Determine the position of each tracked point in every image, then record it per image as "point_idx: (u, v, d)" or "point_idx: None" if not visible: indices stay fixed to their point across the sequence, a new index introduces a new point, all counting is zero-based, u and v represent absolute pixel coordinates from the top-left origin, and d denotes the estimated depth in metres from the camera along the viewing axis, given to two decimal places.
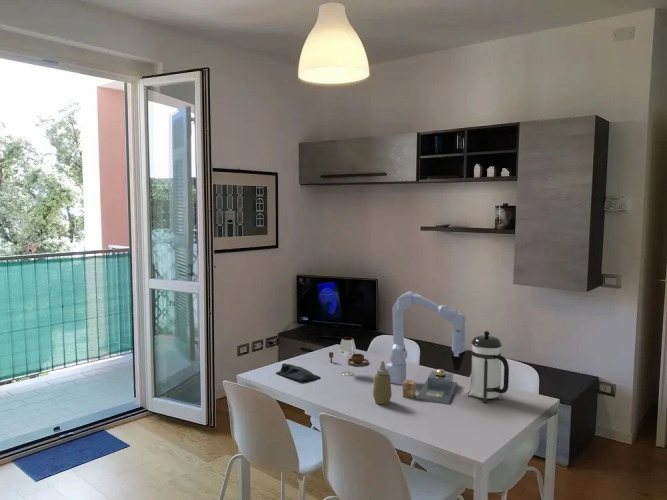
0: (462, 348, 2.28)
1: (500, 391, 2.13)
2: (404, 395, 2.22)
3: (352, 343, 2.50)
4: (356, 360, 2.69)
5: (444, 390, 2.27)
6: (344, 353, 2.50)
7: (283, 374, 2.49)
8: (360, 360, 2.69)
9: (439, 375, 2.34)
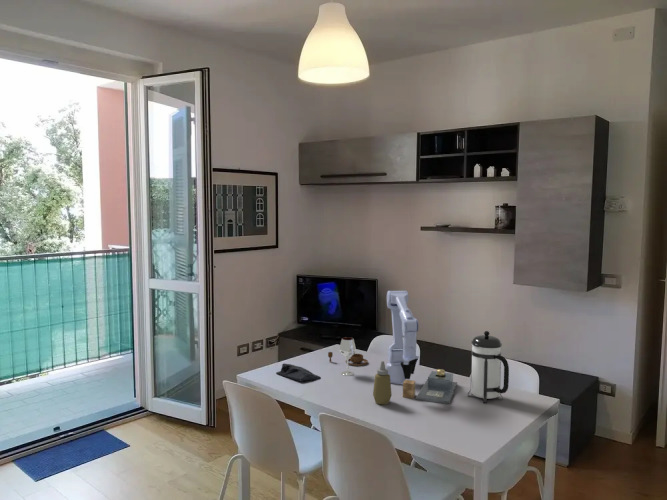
0: (413, 356, 2.19)
1: (500, 391, 2.13)
2: (404, 395, 2.22)
3: (352, 343, 2.50)
4: (355, 360, 2.69)
5: (444, 390, 2.27)
6: (344, 353, 2.50)
7: (283, 374, 2.49)
8: (359, 360, 2.69)
9: (439, 375, 2.34)
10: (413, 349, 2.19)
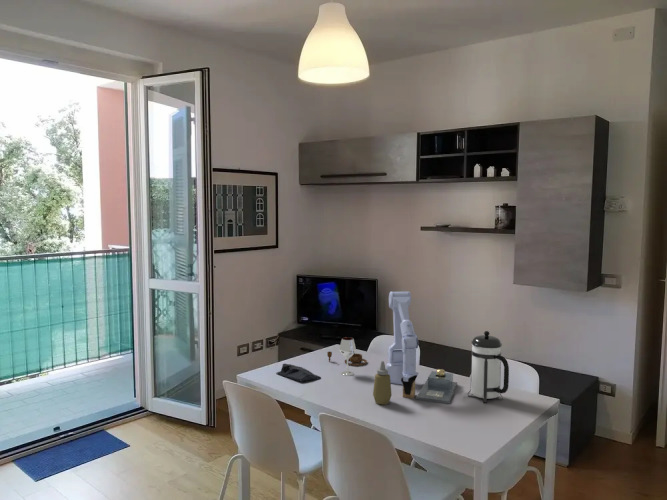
0: (413, 372, 2.20)
1: (500, 391, 2.13)
2: (404, 395, 2.21)
3: (352, 343, 2.50)
4: (354, 360, 2.69)
5: (444, 390, 2.27)
6: (344, 353, 2.50)
7: (283, 374, 2.49)
8: (358, 360, 2.69)
9: (439, 375, 2.34)
10: (413, 366, 2.20)
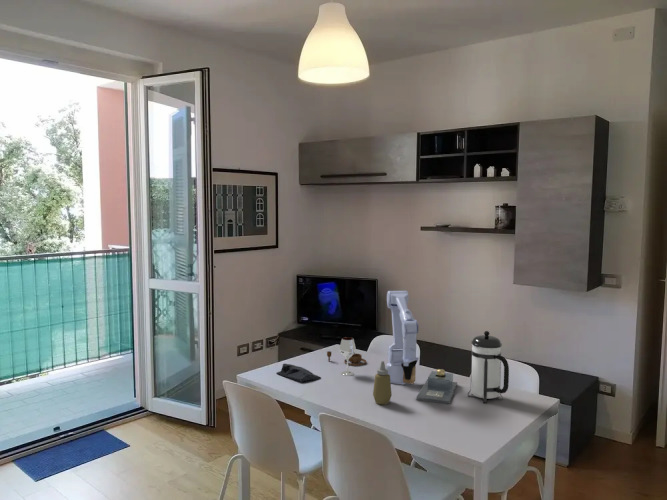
0: (413, 357, 2.19)
1: (500, 391, 2.13)
2: (404, 380, 2.21)
3: (352, 343, 2.50)
4: (353, 360, 2.69)
5: (444, 390, 2.27)
6: (344, 353, 2.50)
7: (284, 374, 2.49)
8: (357, 360, 2.69)
9: (439, 375, 2.34)
10: (413, 350, 2.19)
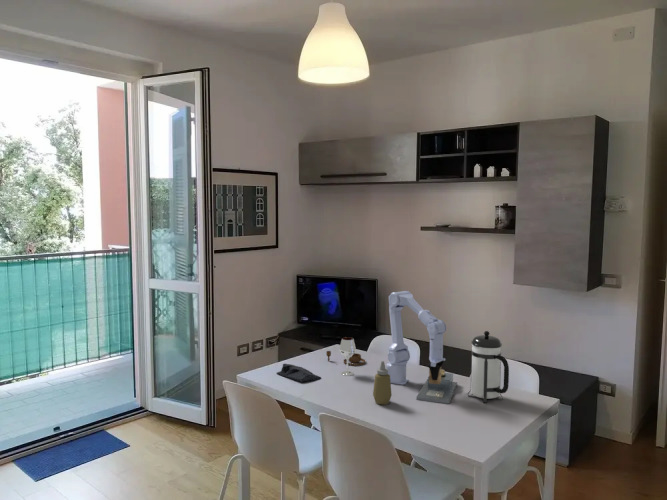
0: (440, 358, 2.19)
1: (500, 391, 2.13)
2: (430, 381, 2.21)
3: (352, 343, 2.50)
4: (352, 360, 2.69)
5: (444, 390, 2.27)
6: (344, 353, 2.50)
7: (284, 374, 2.48)
8: (356, 360, 2.69)
9: None
10: (440, 351, 2.19)
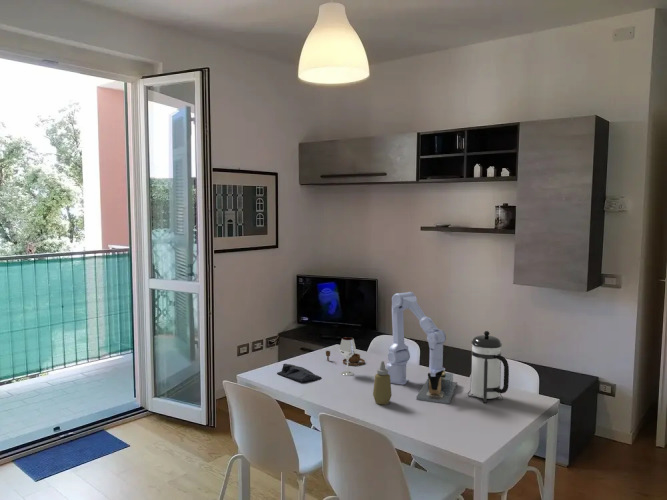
0: (439, 367, 2.19)
1: (500, 391, 2.13)
2: (430, 391, 2.21)
3: (352, 343, 2.50)
4: (351, 360, 2.69)
5: (444, 390, 2.27)
6: (344, 353, 2.50)
7: (284, 374, 2.48)
8: (355, 360, 2.69)
9: None
10: (440, 361, 2.19)
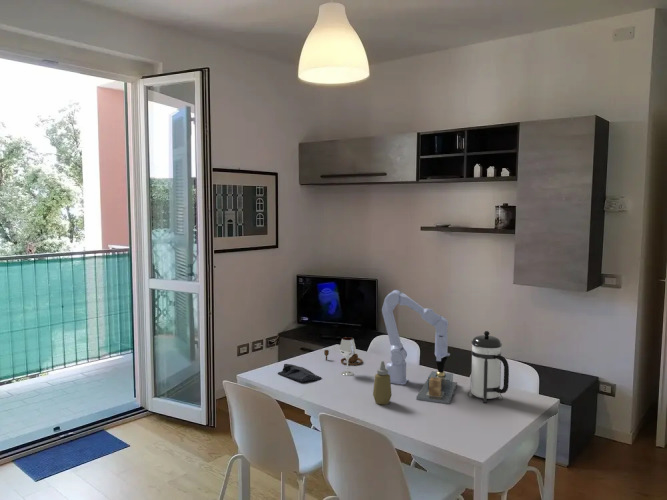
0: (445, 353, 2.32)
1: (500, 391, 2.13)
2: (430, 392, 2.21)
3: (352, 343, 2.50)
4: None
5: (444, 390, 2.27)
6: (344, 353, 2.50)
7: (284, 374, 2.48)
8: (352, 360, 2.70)
9: None
10: (445, 346, 2.32)
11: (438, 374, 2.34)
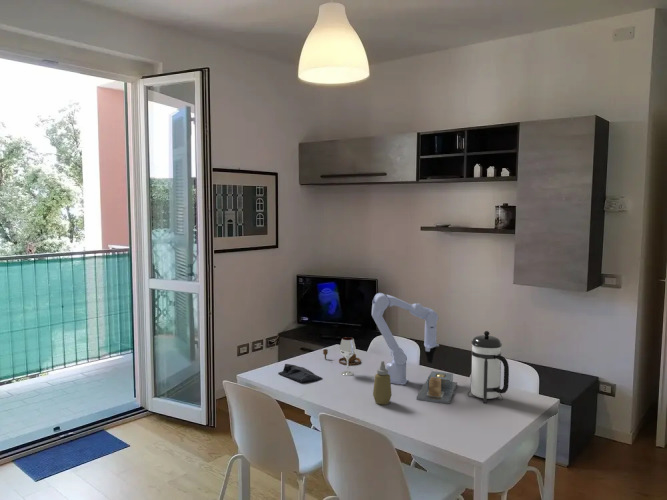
0: (434, 343, 2.39)
1: (500, 391, 2.13)
2: (430, 392, 2.21)
3: (352, 343, 2.50)
4: None
5: (444, 390, 2.27)
6: (344, 353, 2.50)
7: (285, 374, 2.48)
8: (350, 359, 2.70)
9: None
10: (434, 337, 2.39)
11: None
